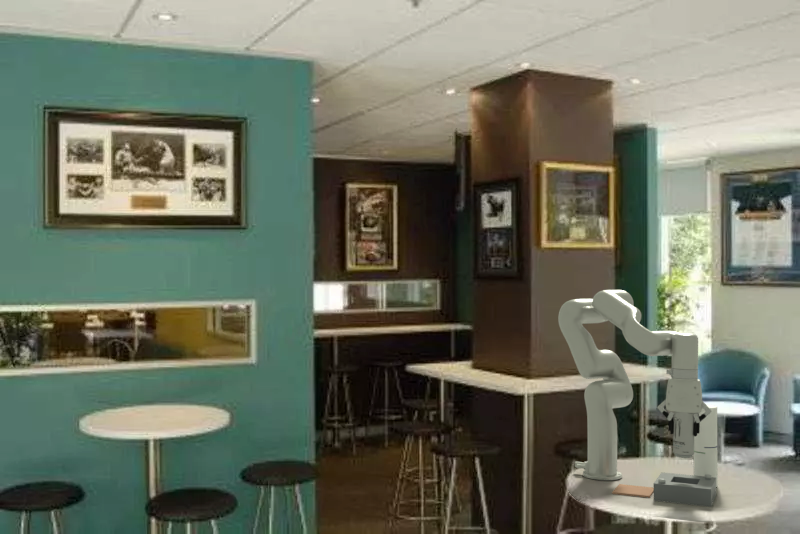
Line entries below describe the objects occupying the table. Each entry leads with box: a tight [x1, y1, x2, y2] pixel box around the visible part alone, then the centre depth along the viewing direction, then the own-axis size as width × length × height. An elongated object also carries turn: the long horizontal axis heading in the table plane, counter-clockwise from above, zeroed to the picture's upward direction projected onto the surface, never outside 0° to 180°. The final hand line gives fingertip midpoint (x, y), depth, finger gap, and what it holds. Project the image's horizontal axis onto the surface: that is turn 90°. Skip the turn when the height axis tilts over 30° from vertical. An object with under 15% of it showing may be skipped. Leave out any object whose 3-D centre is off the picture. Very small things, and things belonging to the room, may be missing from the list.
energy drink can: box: [672, 412, 695, 459], centre depth 251 cm, size 6×6×15 cm
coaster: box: [611, 483, 654, 499], centre depth 257 cm, size 11×11×1 cm
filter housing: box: [653, 472, 717, 508], centre depth 251 cm, size 16×16×6 cm
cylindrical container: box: [692, 404, 719, 488], centre depth 265 cm, size 7×7×25 cm
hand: (683, 433), depth 251 cm, fingers closed on energy drink can, 6 cm apart
